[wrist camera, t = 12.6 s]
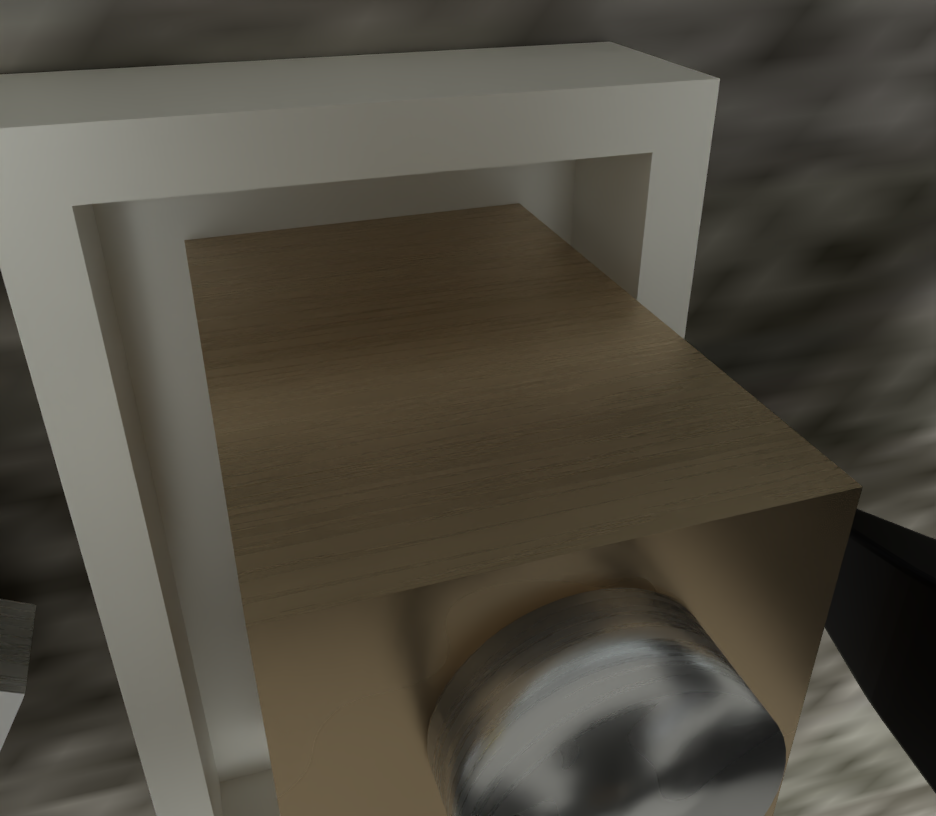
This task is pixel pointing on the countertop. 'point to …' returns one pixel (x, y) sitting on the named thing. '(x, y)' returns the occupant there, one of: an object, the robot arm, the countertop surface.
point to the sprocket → (13, 658)
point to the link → (505, 528)
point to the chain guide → (265, 209)
